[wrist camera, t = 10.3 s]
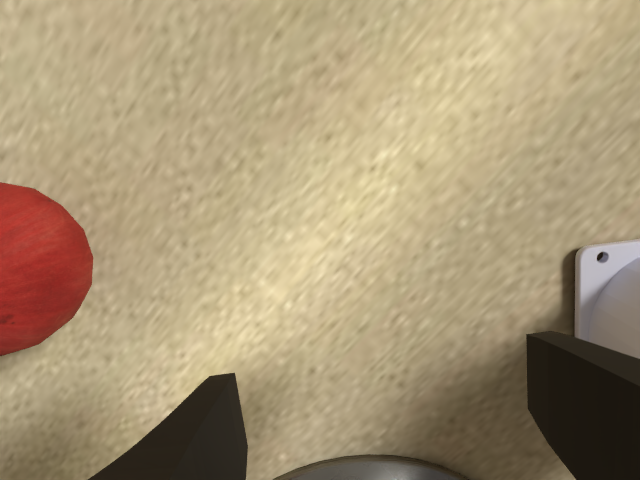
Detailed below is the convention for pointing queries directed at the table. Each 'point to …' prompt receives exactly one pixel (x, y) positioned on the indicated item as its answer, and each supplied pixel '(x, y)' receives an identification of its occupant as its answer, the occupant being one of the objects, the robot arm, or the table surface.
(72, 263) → the onion
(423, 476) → the disc with square hole
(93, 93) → the table surface
